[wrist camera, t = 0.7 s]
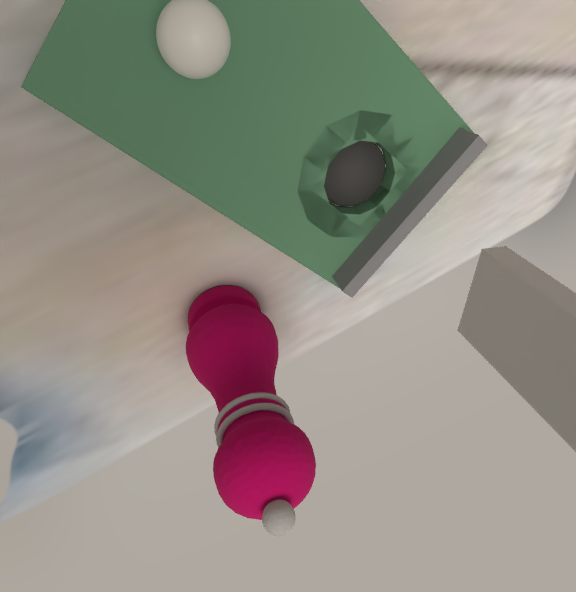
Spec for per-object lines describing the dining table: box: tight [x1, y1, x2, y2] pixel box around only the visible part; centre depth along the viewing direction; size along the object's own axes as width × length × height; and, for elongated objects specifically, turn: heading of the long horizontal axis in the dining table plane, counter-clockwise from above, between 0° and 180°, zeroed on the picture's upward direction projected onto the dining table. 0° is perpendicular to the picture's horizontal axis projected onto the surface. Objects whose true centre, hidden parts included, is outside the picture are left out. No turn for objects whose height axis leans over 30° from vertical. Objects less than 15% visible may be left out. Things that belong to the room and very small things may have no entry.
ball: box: [156, 0, 231, 79], centre depth 25 cm, size 4×4×4 cm
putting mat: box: [21, 0, 488, 297], centre depth 30 cm, size 28×16×4 cm, turn 50°
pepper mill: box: [186, 285, 316, 536], centre depth 31 cm, size 7×7×20 cm
